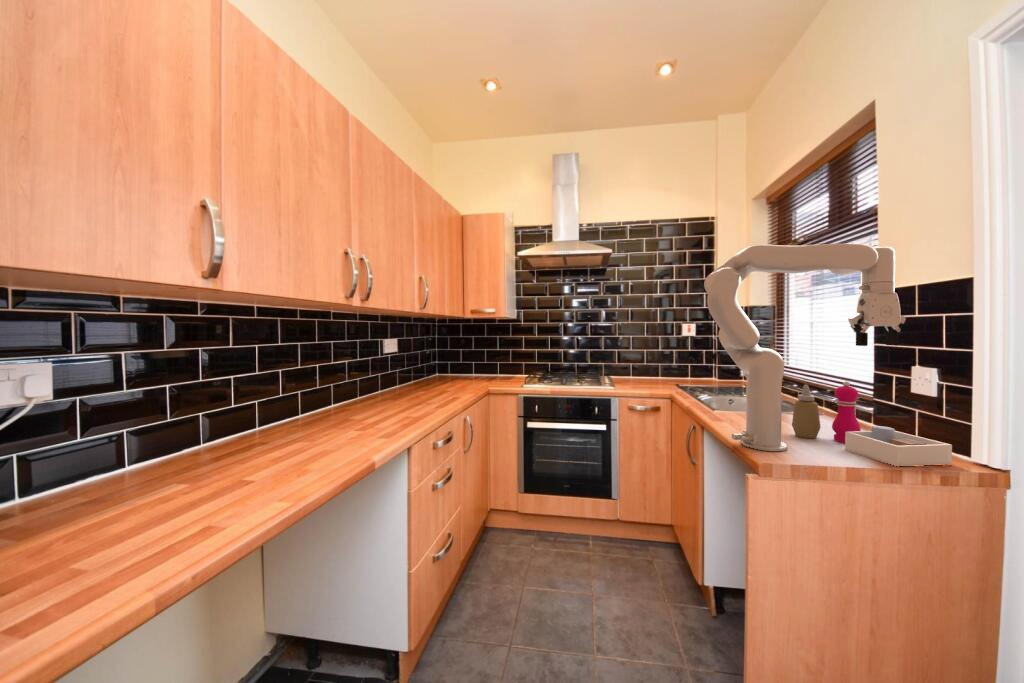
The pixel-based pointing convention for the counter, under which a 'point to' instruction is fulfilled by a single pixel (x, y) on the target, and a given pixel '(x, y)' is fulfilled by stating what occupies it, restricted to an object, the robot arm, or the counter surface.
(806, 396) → the squeeze bottle
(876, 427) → the grey upright block
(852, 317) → the robot arm
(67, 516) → the counter surface
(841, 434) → the pepper mill
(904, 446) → the tray
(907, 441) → the walnut cube
